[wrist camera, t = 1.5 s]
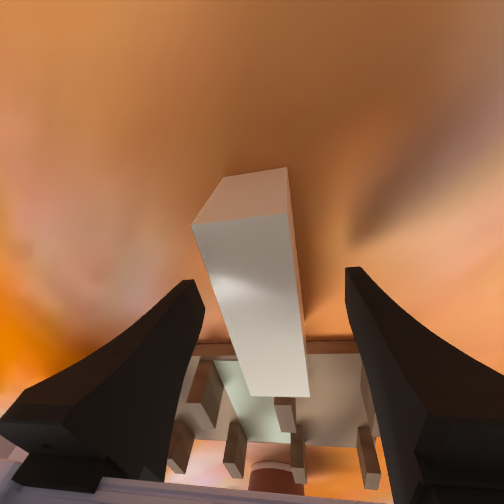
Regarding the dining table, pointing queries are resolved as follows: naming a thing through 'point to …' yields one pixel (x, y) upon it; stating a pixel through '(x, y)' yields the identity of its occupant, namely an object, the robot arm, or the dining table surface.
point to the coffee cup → (274, 479)
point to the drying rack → (277, 410)
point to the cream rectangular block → (257, 278)
